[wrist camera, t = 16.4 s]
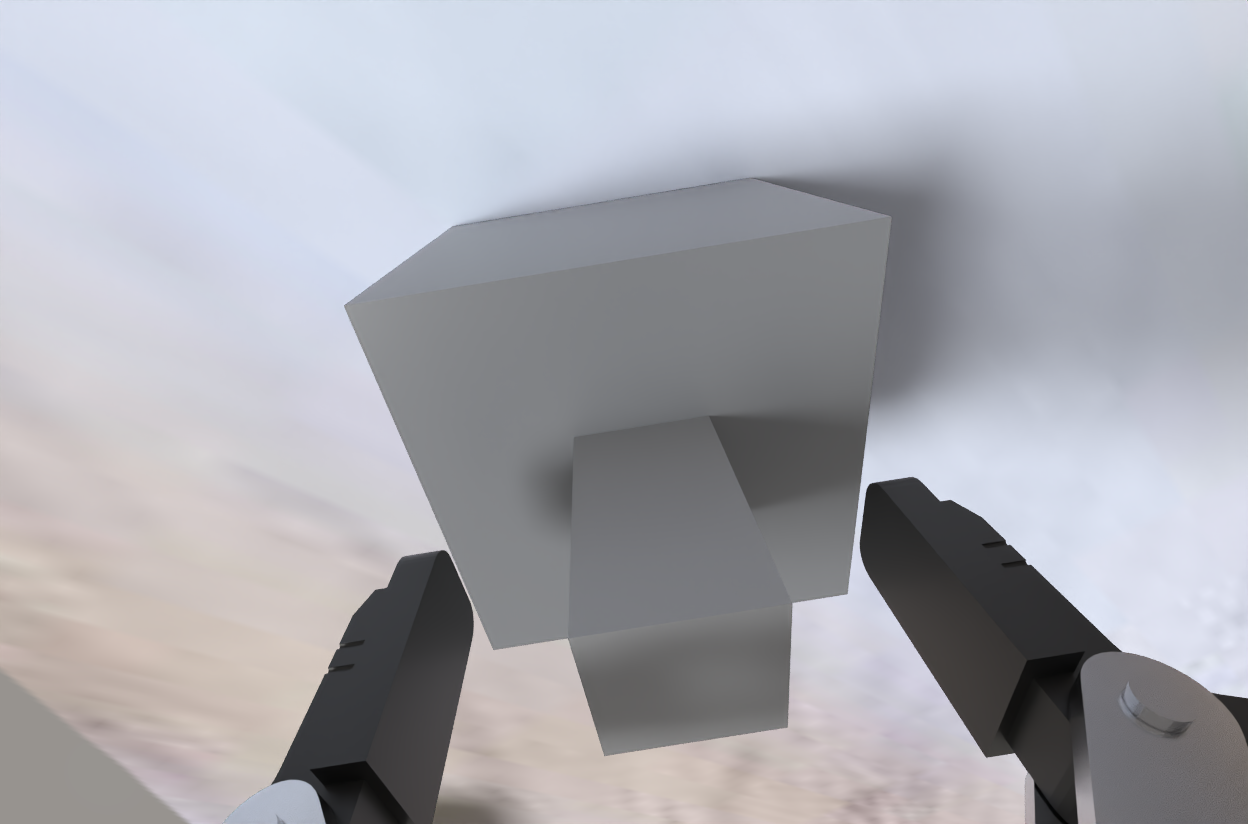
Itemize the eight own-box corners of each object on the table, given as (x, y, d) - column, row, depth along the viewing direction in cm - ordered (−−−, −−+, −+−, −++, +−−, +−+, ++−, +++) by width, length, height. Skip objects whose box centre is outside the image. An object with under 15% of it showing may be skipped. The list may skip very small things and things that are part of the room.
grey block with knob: (751, 177, 17) (1173, 294, 5) (754, 432, 22) (964, 799, 10) (452, 226, 17) (130, 461, 5) (524, 468, 22) (454, 877, 10)
